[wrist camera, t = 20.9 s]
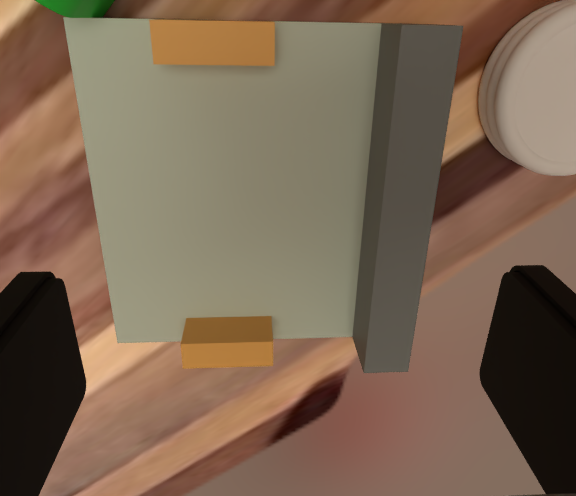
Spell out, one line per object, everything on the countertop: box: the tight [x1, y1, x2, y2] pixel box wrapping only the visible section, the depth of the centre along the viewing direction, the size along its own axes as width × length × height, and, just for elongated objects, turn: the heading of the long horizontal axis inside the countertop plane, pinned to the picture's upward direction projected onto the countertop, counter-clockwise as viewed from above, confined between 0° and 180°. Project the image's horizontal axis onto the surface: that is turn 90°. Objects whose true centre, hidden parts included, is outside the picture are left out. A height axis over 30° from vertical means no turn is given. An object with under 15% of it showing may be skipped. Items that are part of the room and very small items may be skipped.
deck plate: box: [63, 17, 463, 373], centre depth 30 cm, size 20×21×6 cm
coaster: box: [478, 0, 576, 176], centre depth 29 cm, size 10×10×4 cm
